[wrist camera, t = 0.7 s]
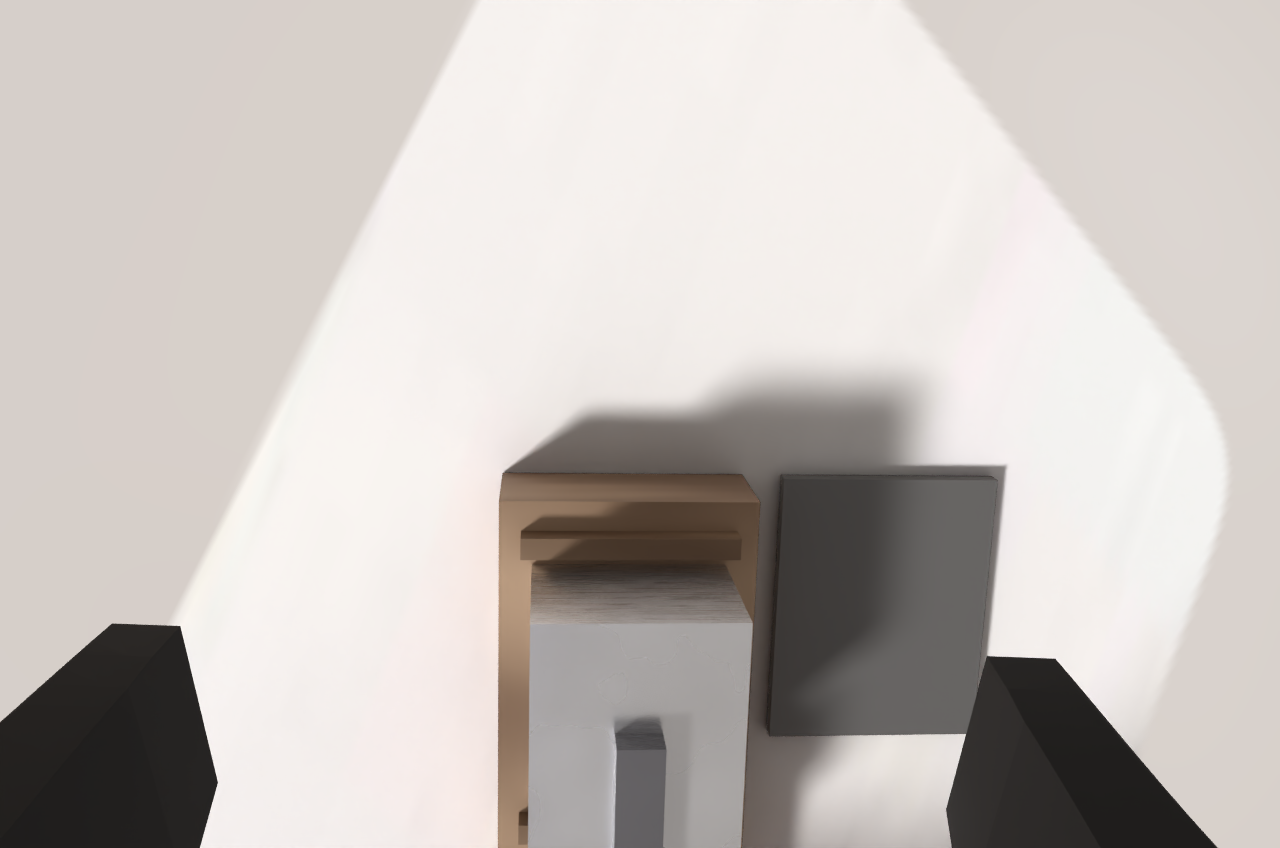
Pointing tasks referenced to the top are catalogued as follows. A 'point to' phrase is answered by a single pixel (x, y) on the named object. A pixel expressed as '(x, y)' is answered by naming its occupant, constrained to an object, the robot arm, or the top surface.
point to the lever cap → (637, 706)
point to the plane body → (601, 534)
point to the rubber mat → (879, 603)
